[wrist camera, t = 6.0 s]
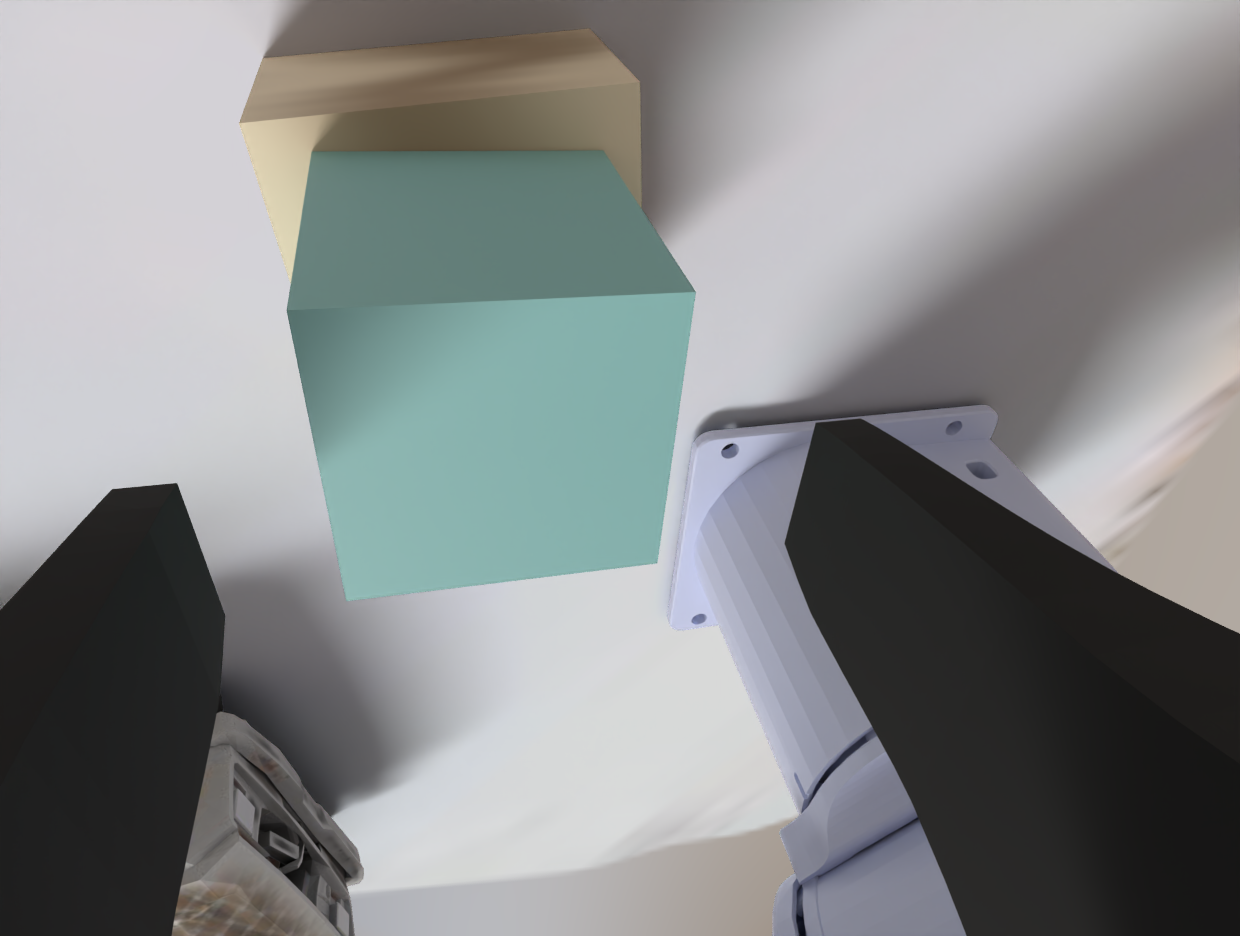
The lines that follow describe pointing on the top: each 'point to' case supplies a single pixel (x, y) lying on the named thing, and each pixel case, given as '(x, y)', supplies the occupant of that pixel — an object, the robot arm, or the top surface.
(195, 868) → the toy car
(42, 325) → the top surface
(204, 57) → the top surface
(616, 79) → the beech block
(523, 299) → the teal block
